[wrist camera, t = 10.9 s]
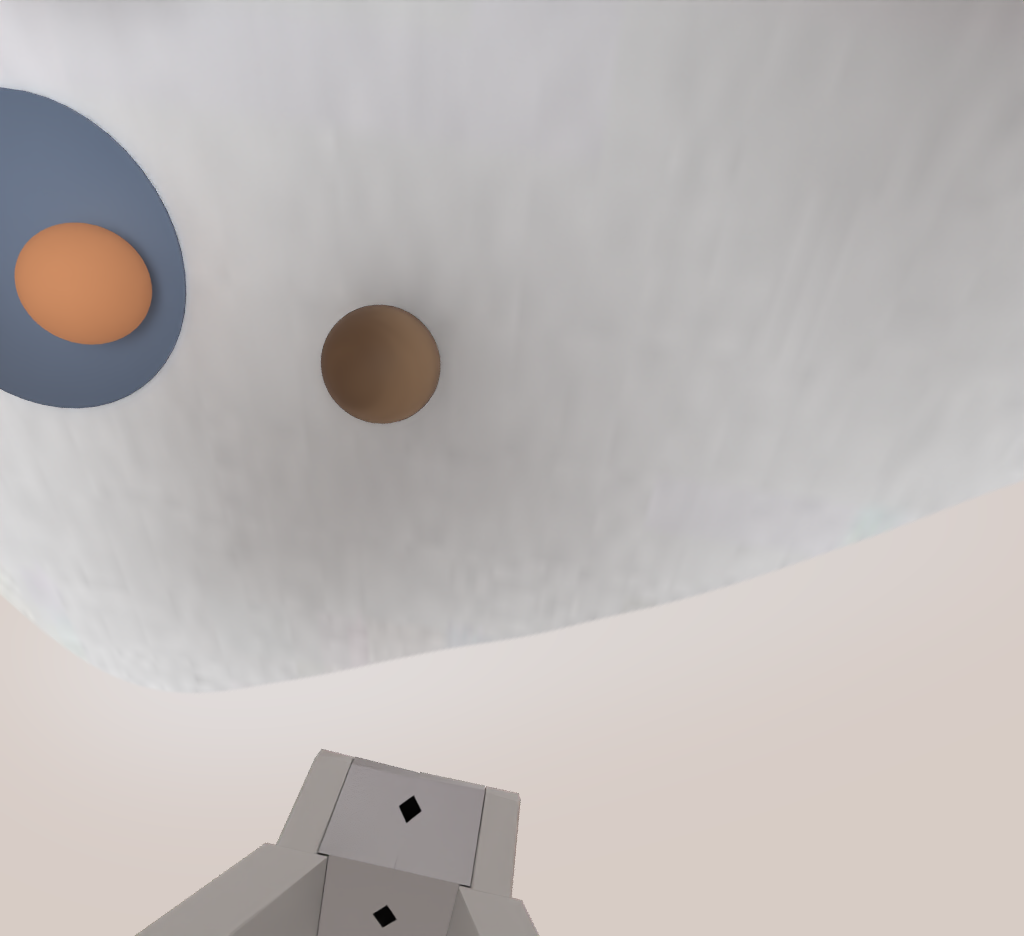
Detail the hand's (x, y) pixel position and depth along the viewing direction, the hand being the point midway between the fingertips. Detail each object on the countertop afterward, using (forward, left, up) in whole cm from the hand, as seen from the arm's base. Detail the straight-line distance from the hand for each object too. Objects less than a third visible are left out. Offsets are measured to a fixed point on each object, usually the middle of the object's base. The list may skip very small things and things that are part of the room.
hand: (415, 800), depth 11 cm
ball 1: (+19, 0, -22) cm, 29 cm away
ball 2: (+6, 0, -22) cm, 22 cm away
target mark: (+23, 0, -24) cm, 33 cm away
